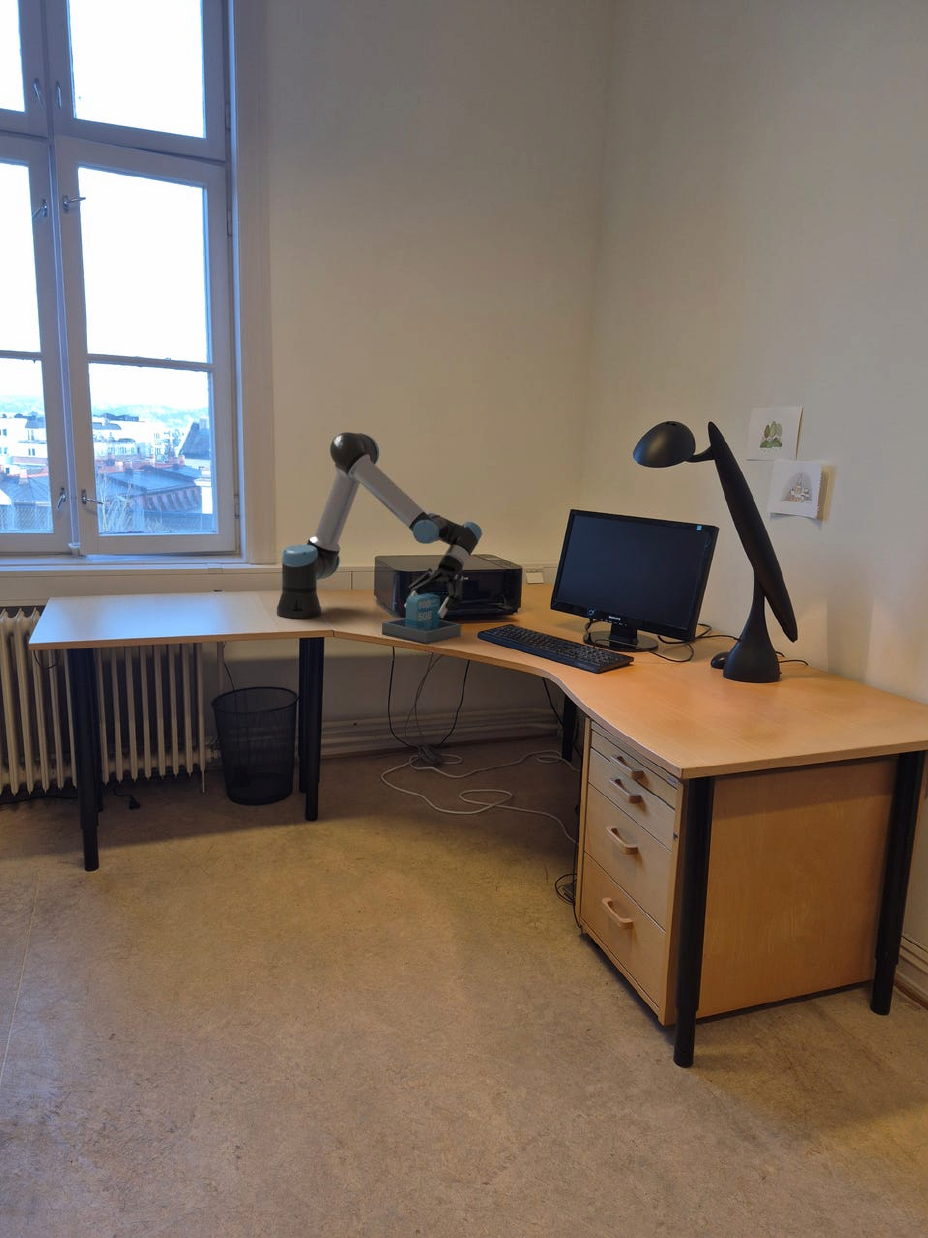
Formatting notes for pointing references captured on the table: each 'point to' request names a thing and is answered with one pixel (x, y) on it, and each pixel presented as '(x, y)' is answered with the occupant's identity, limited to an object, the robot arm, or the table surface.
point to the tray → (400, 631)
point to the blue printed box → (422, 612)
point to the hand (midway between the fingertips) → (422, 612)
